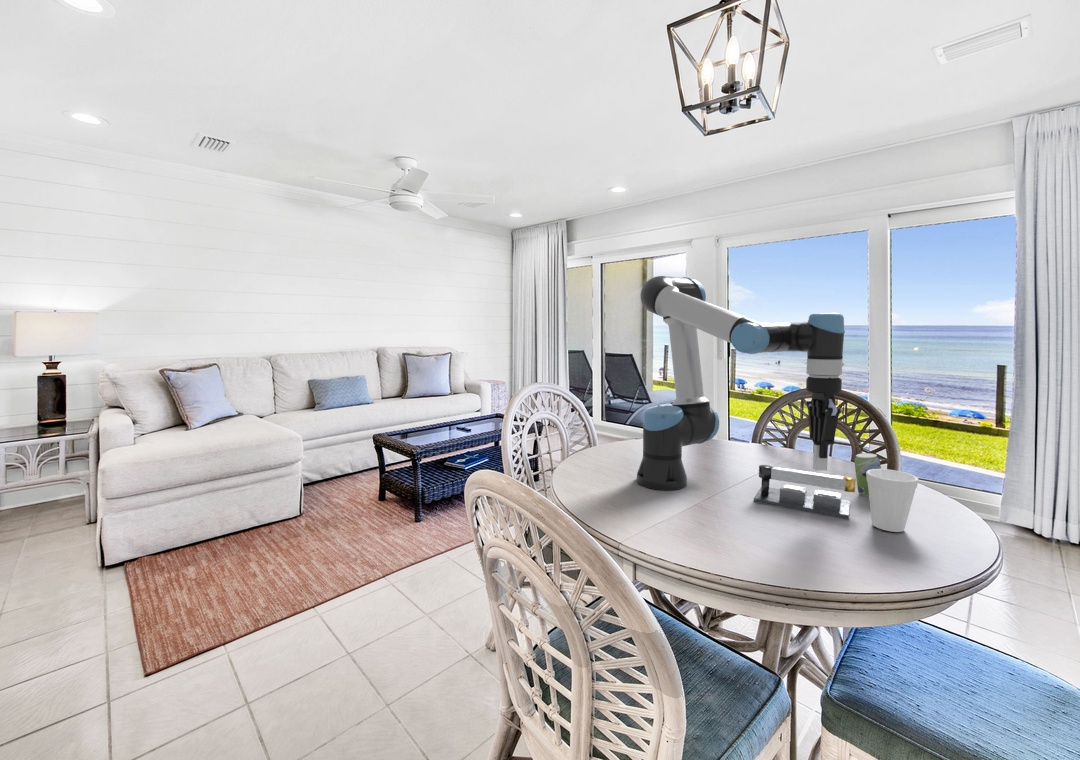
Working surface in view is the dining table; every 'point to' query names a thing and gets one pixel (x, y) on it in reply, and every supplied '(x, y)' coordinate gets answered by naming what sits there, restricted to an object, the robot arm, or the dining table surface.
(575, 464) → the dining table surface
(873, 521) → the cup
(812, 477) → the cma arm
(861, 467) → the beverage can
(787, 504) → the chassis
